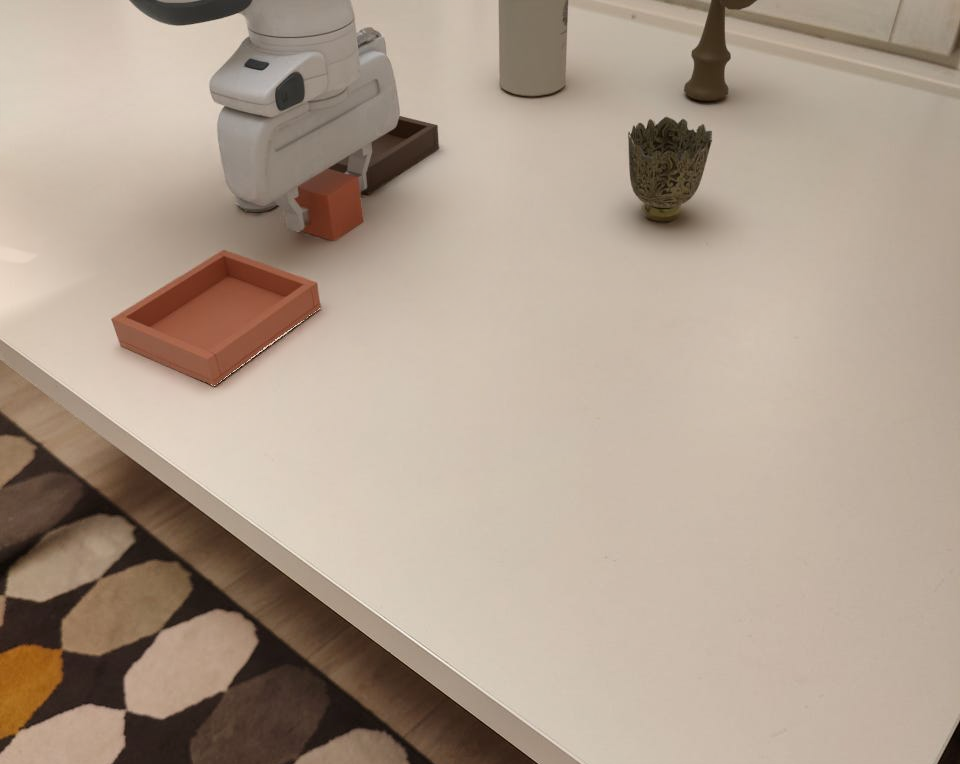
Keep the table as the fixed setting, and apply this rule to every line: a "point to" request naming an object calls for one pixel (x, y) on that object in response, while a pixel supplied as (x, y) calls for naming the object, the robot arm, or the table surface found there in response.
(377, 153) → the walnut tray
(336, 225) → the terracotta block
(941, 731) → the table surface
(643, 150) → the cup
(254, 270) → the terracotta tray
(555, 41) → the travel mug
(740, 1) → the kendama
